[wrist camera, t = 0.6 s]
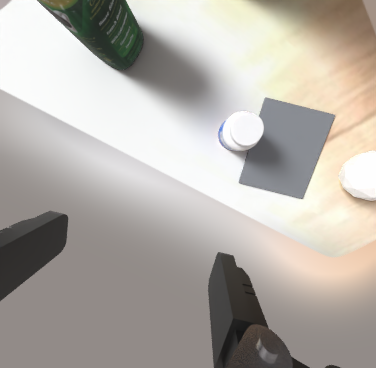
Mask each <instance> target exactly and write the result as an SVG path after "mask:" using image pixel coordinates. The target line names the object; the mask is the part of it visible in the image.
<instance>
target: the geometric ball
mask: <svg viewBox="0 0 376 368" xmlns="http://www.w3.org/2000/svg"><path fill="white" fill-rule="evenodd" d="M338 177H339V179H340V181H341V184H342V186H343V188H344V189H345V190H346V191H348V192H349V193H350V194H351V195H353V196H354V197H357V198H361V199H365V200H369V201H374V200H376V151H372V150H371V151H368V152H365V153H361V154H358V155H355V156H353V157H352V158H350V159H349V160H348V161H347V162H345V163H344V165H343V166H342V168H341V171H340V173H339V175H338Z"/></svg>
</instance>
